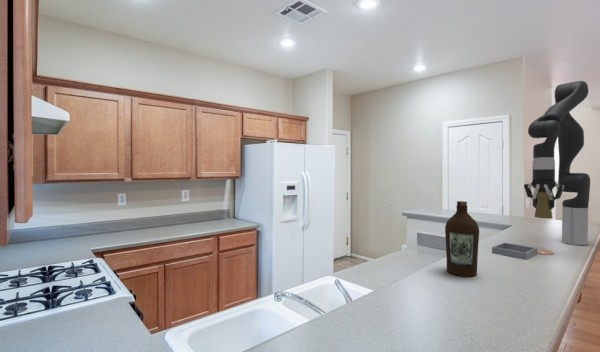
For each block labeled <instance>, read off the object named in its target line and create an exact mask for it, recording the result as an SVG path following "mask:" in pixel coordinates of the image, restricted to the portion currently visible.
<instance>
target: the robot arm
mask: <svg viewBox="0 0 600 352" xmlns="http://www.w3.org/2000/svg"><path fill="white" fill-rule="evenodd" d="M588 95H589V85H588V84H587V82H586V81H583V80H577V81H576V80H575V81H571V82H566V83H561V84H558V85H557V86H556V87H555V89H554V101H555V103H554V104H553V105H551V106H550V107H549V108H548V109H547V110H546V111H545V113H543V115H540V116H539V117H537V118H536V119H535V120H533V121H532V122H531V123H530V124H529V126H528V129H527V132H528V133H527V134H528V136H529V137H531V138H532V139H544V138H545V140H544V141H543V142H541V143H537V144H534V146H533V150H532V153H533V154H532V156H533V157H532V165H531V166H532V181H531V182H530V183H524V184H523V188H524V190H525V194H526V197H527V198H530V199H532V207H534V208H535V209H536V205H537V198H536V194H537V193H538V192H547V194H548V195H549V199H550V200H549V209H551V210H553V209H554V208H555V206H556V205H555V201H556V200H558V199H559V200H560V199H561V197H562V195H563V193H573V194H574V193H575V194H576V196H574V197H572V198H569V199H564V200H562V203H561V204H562V205H561V207H562V209H561V212H562V214H561V215H562V217H561V221H562V222H561V242H562V243H563V244H567V245H568V244H569V245H575V246H587V245H588V244H589V203H590V191H591V178H590V175H589V174H588V173H585V172H584V173H583V172H571V165H572V163H573V161H574V159H575V158H576V157H577V156H578V155H579V153H580V152H581V150H582V149H583V148H584V145H585V135H584V134H585V132H584V131H585V130H584V129H583V127H582V126H581V125H580V123H579V122H578V121H577V120H576V119H575V118H574V117H573V116H572V114H571V113H570V112H571V111H572V110H573V109H575V108H576V107H577V106H578V105H580V104H581V103H582V102H584V101H585V99H586V98H587V97H588ZM556 143H557V146H558V177H557V178H558V179H557V180H558V182H556V161H555V148H556V147H555V146H556ZM555 187H556V190H557V191H556V193H555V194H554V191H553V190H554V188H555ZM531 188H533V189H534V192H533V193H532V189H531Z"/></svg>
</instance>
